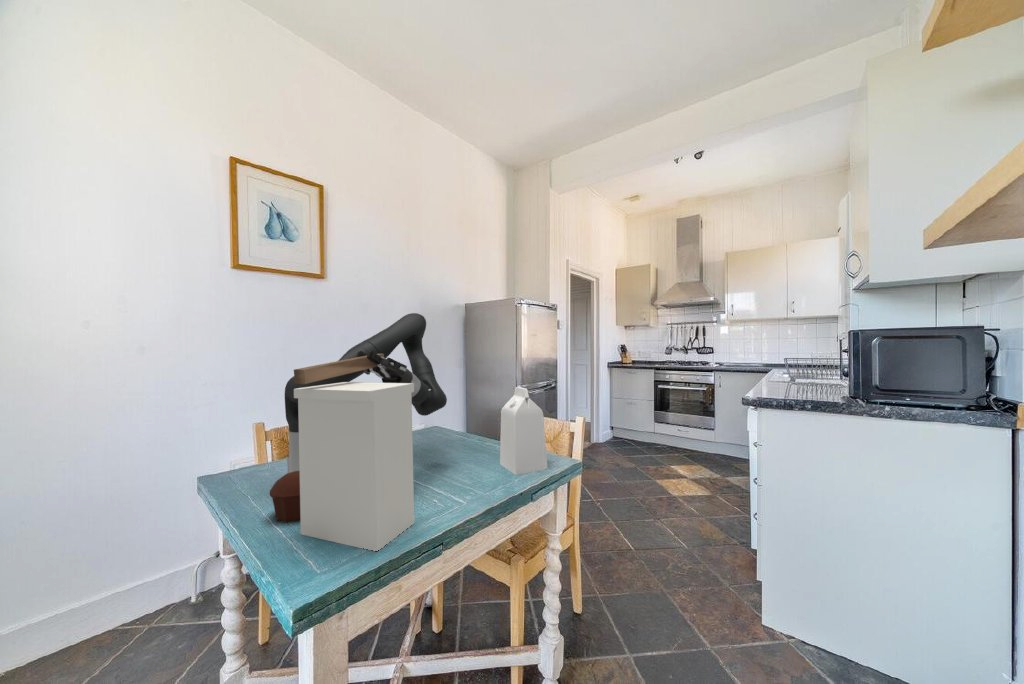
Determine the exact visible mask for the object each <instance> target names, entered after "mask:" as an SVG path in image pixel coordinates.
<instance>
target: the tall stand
mask: <svg viewBox="0 0 1024 684" xmlns="http://www.w3.org/2000/svg"><path fill="white" fill-rule="evenodd" d="M412 392H414V383H383V382H363V381H362V382H358V381H353V382H352V381H350V382H342V383H334V384H327V385H319V386H311V387H304V388H296V389H294V398H298V418H299V468H300V519H301V520H300V535H303V536H305V537H309V538H314V539H320V540H323V541H328V542H331V543H337V544H341V545H345V546H349V547H353V548H354V547H355V548H358V549H363V548H364V549H363V550H366V549H368V550H367V551H371V550H373V551H372V552H375V551H378V550H379V551H380V549H381V548H382V549H383V548H384V546H385V545H386V544H387V545H388V544H390V543H391V542H393V539H394V538H395V539H397V538H398V537H399V536H400V535H401V534H403V533H404V532H405V531H407V530H408V529H409V528H411V527H412V526H414V524H415V496H414V494H415V493H414V491H415V490H414V487H415V486H414V452H413V451H414V447H413V444H414V443H413V410H412V409H413V405H412V394H411V393H412ZM411 525H412V526H411ZM410 526H411V527H410ZM407 528H408V529H407ZM406 529H407V530H406ZM403 531H404V532H403ZM402 532H403V533H402ZM399 534H400V535H399ZM398 535H399V536H398ZM397 536H398V537H397ZM395 539H394V540H395ZM390 541H391V542H390ZM389 542H390V543H389ZM387 545H386V546H387ZM386 546H385V547H386ZM382 549H381V550H382ZM379 551H378V552H379Z"/></svg>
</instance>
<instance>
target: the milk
mask: <svg viewBox="0 0 1024 684" xmlns="http://www.w3.org/2000/svg"><path fill="white" fill-rule="evenodd" d="M544 417H545V416H544V411H543V409H542V408H541V407H540V406H538V405H537V403H535V401H533V400H532V399H531V397H530V395H529V391H528V388H526V387H520V386H518V387H517V386H516V387H515V389H514V393H513V396H512V397H511V398H510V399H509V400H508V401H507V402H506V403H505V404H504V406H502V408H501V410H500V442H499V443H500V444H499V445H500V448H499V449H500V450H499V451H500V452H499V465H500V466H502V467H503V468H504V469H506V470H508V471H509V472H510V473H512V474H513V475H515V476H518V475H523V474H528V473H534V472H539V471H544V470H548V468H549V467H548V457H547V456H548V454H547V445H546V444H547V443H546V431H545V419H544Z"/></svg>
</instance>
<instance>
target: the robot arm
mask: <svg viewBox="0 0 1024 684" xmlns="http://www.w3.org/2000/svg"><path fill="white" fill-rule="evenodd" d="M426 329H427V321H426V318H425V316H424V315H422V314H420V313H418V312H411V313H407V314H405V315H404V316H401V318H400V319H398V320H397V321H394V322H393V323H392V324H391V325H389V326H388V327H386V328H384V329H383V330H381V331H379V332H378V333H376V334H374V335H372V336H371V337H369V338H367V339H364V340H363V341H360V342H359V343H358V344H355V345H354V346H352V347H351V348H350V349H348V350H347V351H346V352H345V353H344V354H343V355H342V356H341V357H340V358H339V359H338V360H337V361H341V360H346V359H351V358H356V357H361V356H367V358H368V359H369V360H370V361H372V362H373V363H375V364H378V365H377V367H373V368H369V369H365V370H361V371H357V372H353V373H349V374H344V375H340V376H336V377H332V378H328V379H324V380H320V381H316V382H312V383H307V384H295V377H294V375H293V376H292V377H291V378H290V379H289V380H288V381H287V382H286V384H285V388H284V410H285V411H284V412H285V420H286V422H287V424H288V446H289V447H288V449H289V452H288V454H289V455H288V456H287V460H286V461H287V462H286V463H287V464H286V465H287V468H286V469H287V474H288V473H290V472H294V471H300V468H299V418H298V398H294V389H296V388H304V387H311V386H319V385H327V384H334V383H342V382H352V381H353V380H355V379H357V378H359V377H360V376H361V375H364V374H365V375H370V374H371V373H373V374H375V376H377V377H378V378H380V379H381V381H382V382H381V383H414V392H412V393H411V394H412V407H413V408H414V409H415V411H416V413H417V414H418V415H420V416H424V417H425V416H429V415H430V414H433V413H435V412H437V411H439V410H441V409H443V408H444V407H446V406H447V401H448V399H447V395H446V393H445V392H444V390H443V389H442V387H441V386H440V385H439V383H438V380H437V379H436V376H435V371H434V369H433V366H432V362H431V361H430V359H429V358H428V357H427V356H426V354H425V353H424V349H423V338H424V336H425V332H426ZM400 344H402V347H403V349H404V351H405V353H406V356H407V358H408V361H409V364H410V368H411V369H410V370H411V371H410V370H409V369H408V368H407V367H408V366H407V365H406V364H404V363H402V362H399V361H397V360H395V359H393V358H391V357H389V356H390V355H391V354H392V353H393V352H394V351H395V349H396V348H398V346H399V345H400ZM377 354H384V357H380V356H379V355H377Z"/></svg>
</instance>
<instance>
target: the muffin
mask: <svg viewBox="0 0 1024 684" xmlns="http://www.w3.org/2000/svg"><path fill="white" fill-rule="evenodd" d="M269 496H270V498H272V503H273V508H274V513H275V517H276V521H277V522H281V523H292V522H296V521H301V519H300V471H294V472H290V473H288V472H287V473H285V474H284V475H282V476H281V477H280V478H278V479H277V480H276V481H275V482H274V484H273V485H272V487H271V489H270V490H269Z"/></svg>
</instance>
